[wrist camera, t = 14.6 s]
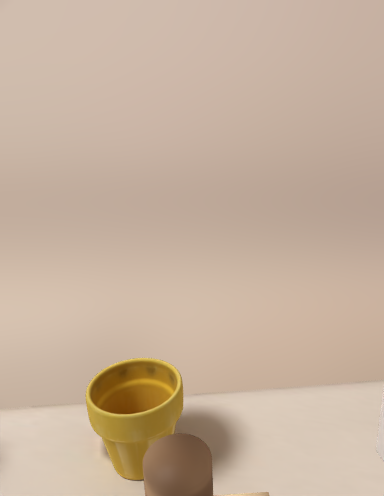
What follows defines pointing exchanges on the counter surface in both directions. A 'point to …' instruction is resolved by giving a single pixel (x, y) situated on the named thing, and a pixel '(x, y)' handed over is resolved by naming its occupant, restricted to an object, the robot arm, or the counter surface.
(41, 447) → the counter surface
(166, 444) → the peg
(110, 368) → the plant pot
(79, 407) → the counter surface
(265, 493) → the collar block
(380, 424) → the robot arm
